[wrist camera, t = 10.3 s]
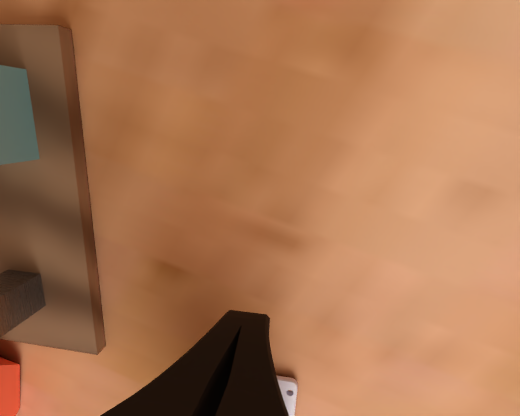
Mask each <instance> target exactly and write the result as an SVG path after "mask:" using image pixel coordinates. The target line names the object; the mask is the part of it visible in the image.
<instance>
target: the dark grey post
mask: <svg viewBox="0 0 520 416" xmlns="http://www.w3.org/2000/svg"><path fill="white" fill-rule="evenodd" d="M45 306H46V303H45V297H44V291H43V285H42V279H41V274H40V273H32V272H24V271H16V270H9V269H8V270H6V271H4V272H2V273H0V338H1V337H2V336H4V335H5V334H6V333H8V332H9V331H11V330H12V329H13V328H15V327H16V326H18V325H19V324H21V323H22V322H23V321H25V320H26V319H28V318H29V317H30V316H32V315H33V314H35V313H36V312H38V311H39V310H40V309H42V308H43V307H45Z"/></svg>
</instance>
